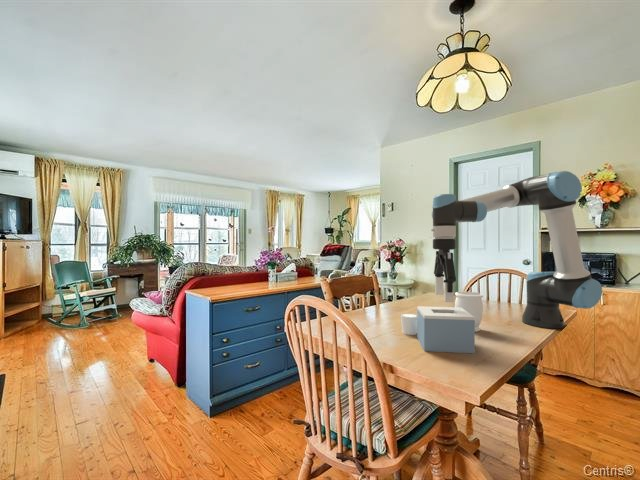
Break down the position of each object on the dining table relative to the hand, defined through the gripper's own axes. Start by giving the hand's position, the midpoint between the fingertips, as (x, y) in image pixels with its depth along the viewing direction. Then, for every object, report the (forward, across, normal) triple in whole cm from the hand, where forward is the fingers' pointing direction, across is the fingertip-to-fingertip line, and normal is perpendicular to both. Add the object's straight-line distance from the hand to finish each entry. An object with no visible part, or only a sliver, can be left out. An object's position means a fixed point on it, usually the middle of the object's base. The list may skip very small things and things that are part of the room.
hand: (443, 298), depth 110 cm
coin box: (+17, 0, 0) cm, 17 cm away
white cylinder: (+17, -13, -10) cm, 24 cm away
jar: (+17, -21, +15) cm, 31 cm away
